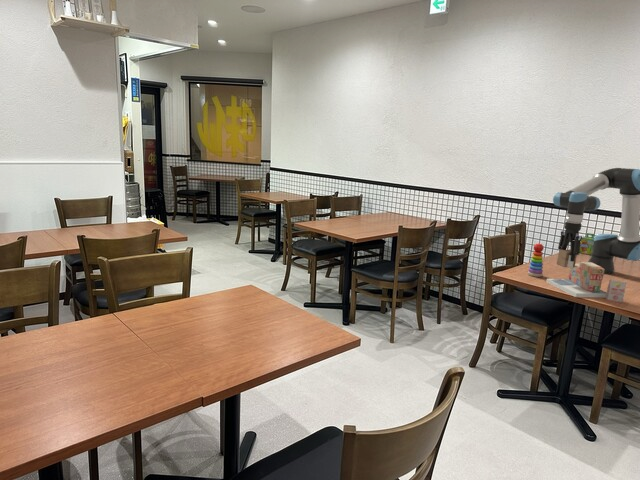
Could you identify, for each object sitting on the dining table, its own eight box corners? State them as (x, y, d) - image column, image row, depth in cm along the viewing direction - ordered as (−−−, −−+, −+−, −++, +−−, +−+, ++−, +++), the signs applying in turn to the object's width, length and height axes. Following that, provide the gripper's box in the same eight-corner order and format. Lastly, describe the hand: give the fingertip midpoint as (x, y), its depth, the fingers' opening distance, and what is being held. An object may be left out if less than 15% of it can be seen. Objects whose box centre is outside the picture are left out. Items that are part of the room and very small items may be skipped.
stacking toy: (541, 274, 258) (546, 243, 254) (543, 278, 251) (548, 245, 247) (526, 272, 261) (531, 241, 257) (528, 276, 253) (533, 244, 249)
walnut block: (566, 264, 238) (569, 249, 236) (574, 267, 232) (577, 252, 230) (556, 264, 237) (559, 249, 235) (563, 267, 231) (566, 252, 229)
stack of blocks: (568, 278, 244) (572, 257, 242) (579, 279, 244) (583, 258, 241) (587, 291, 223) (591, 267, 221) (600, 292, 223) (604, 268, 220)
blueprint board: (576, 282, 245) (577, 278, 245) (608, 297, 222) (609, 293, 222) (546, 282, 243) (546, 278, 243) (575, 297, 220) (576, 292, 219)
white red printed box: (605, 298, 221) (609, 278, 219) (621, 300, 218) (625, 281, 216) (606, 300, 218) (610, 280, 216) (622, 303, 215) (626, 283, 213)
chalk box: (578, 253, 323) (582, 233, 320) (580, 251, 330) (583, 231, 327) (593, 255, 317) (597, 235, 314) (594, 253, 325) (598, 233, 321)
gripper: (555, 218, 238) (548, 260, 243) (579, 225, 220) (571, 270, 225) (568, 219, 239) (560, 260, 244) (593, 225, 221) (584, 270, 226)
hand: (565, 265), depth 234 cm, fingers closed on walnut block, 6 cm apart
